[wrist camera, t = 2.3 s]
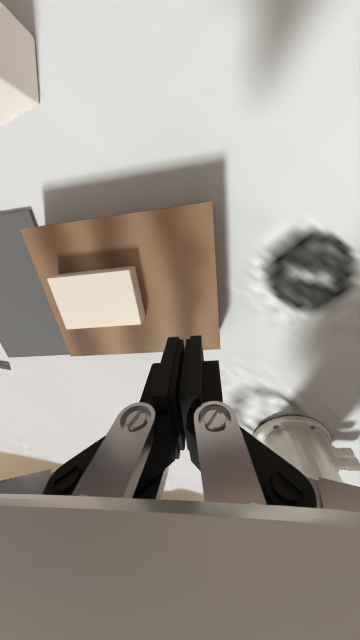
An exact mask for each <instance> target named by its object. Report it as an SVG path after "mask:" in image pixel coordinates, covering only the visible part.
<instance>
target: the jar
mask: <svg viewBox="0 0 360 640" xmlns="http://www.w3.org/2000/svg"><path fill="white" fill-rule="evenodd" d="M38 105H39V95H38V82H37V68H36V55H35V40H34V37H33V36H32V34H31V33H30V32H29V31H28V30H27V29H26V28H25V27H24V26H23V25H22V24H21V23H20V22H19V21H18V20H17V18H16V17H15V16H14V15H13V14H12V13H11V12H10V11H9V10H8V9H7V8H6V7H5V6H4V5H3V4H2V3H1V2H0V124H2V125H6V124H8V123H9V122H11V121H13V120H14V119H16V118H18V117H19V116H21V115H23V114H24V113H26V112H28V111H29V110H31V109H33V108H34V107H36V106H38Z"/></svg>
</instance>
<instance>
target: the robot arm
mask: <svg viewBox="0 0 360 640" xmlns="http://www.w3.org/2000/svg"><path fill="white" fill-rule="evenodd" d="M185 438H186V442H187V448H188V450H189V451H190V457H191V461H192V462H193V464H194V465H195V466H196V467H197V468H198V469H199V470H200V471H201V477H202V485H203V492H204V500H205V502H199V501H178V500H161V497H162V493H163V489H164V486H165V482H166V478H167V475H168V466H169V465H170V464H171V463H173V462H174V461H175V459H179V455H180V450H184V449H185ZM339 470H350V471H360V463H359V461H358V459H357V458H356V457H354V453H353V451H352V449H351V448H335V447H334V446H332V440H331V437H330V435H329V433H328V431H327V429H326V428H325V427H324V426H323V425H322V424H320V423H319V422H317V421H315V420H313V419H310V418H307V417H301V416H284V417H279V418H275V419H272V420H270V421H268V422H266V423H264V424H263V425H261V426H260V427H259V428H258V429H257V430H256V431H255V433H254V434H253V436H252V435H251V434H249V433H248V432H247V431H245V430H244V429H243V428H241V427H240V426H239V423H238V421H237V418H236V415H235V413H234V411H233V409H232V408H231V407H230V406H228V405H227V404H225V403H223V399H222V389H221V380H220V370H219V361H204V358H203V347H202V337H201V335H196V336H190V339H186V344H185V347H184V340H183V339H180V338H179V337H168V338H167V342H166V346H165V349H164V353H163V356H162V360H161V363H153V364H152V366H151V369H150V372H149V375H148V378H147V381H146V384H145V387H144V390H143V393H142V396H141V399H140V402H139V403H134V404H131V405H129V406H127V407H126V408H124V409H123V410H122V411H121V412H120V414H119V415H118V416H117V418H116V420H115V421H114V423H113V425H112V427H111V428H110V430H109V432H108V433H107V435H106V436H104V437H103V438H101V439H100V440H98V441H97V442H95V443H94V444H93V445H91V446H90V447H88V448H87V449H85V450H84V451H82V452H81V453H79V454H78V455H76V456H75V457H73V458H72V459H70V460H69V461H68V462H66V463H65V464H63V465H62V466H61V467H60V468H58V469H57V470H56V471H55V472H52V470H46V471H41V472H37V473H32V474H28V475H23V476H19V477H14V478H10V479H5V480H1V481H0V640H360V487H357V486H353V485H349V484H345V483H343V481H342V479H341V478H340V476H339V474H338V471H339Z"/></svg>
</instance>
